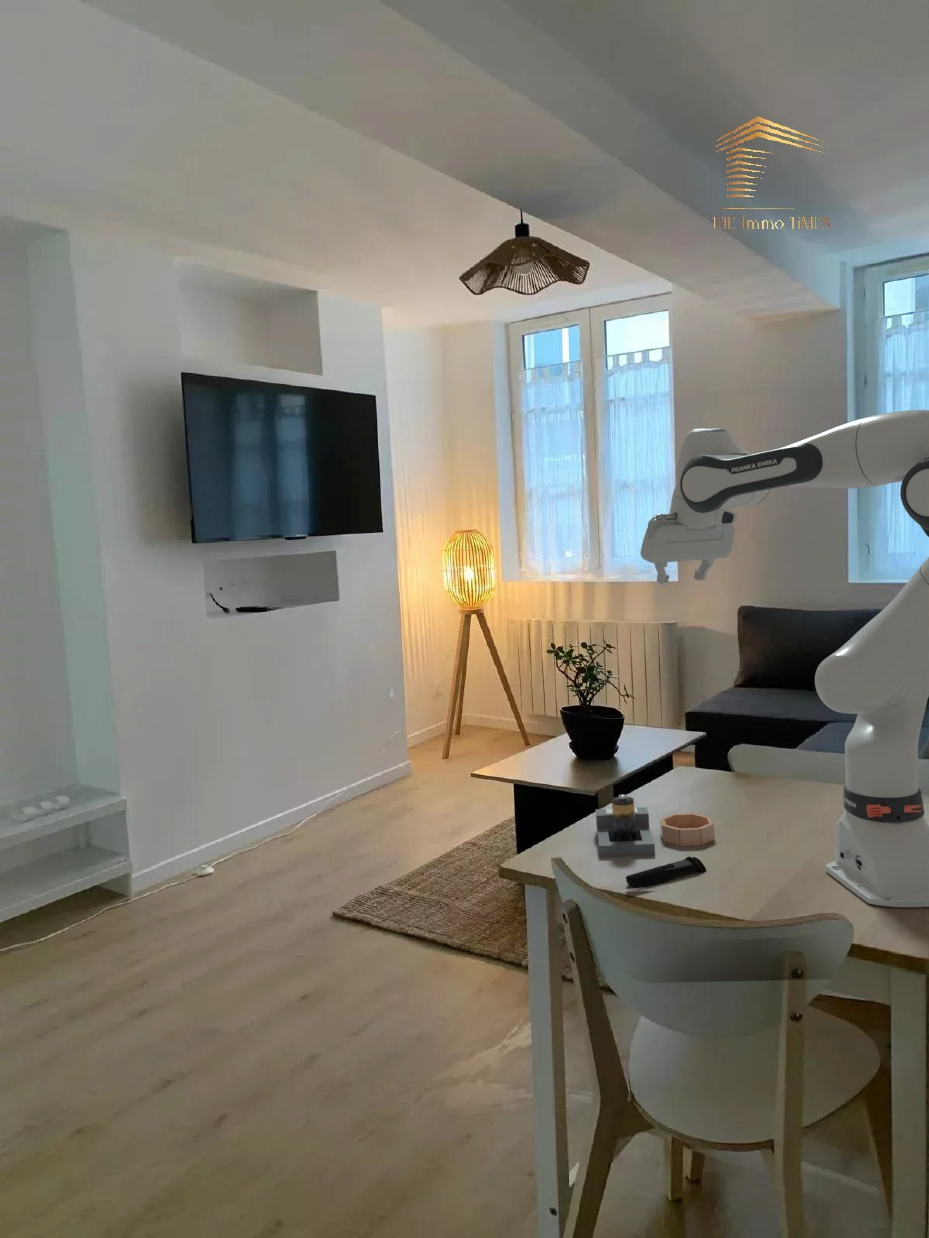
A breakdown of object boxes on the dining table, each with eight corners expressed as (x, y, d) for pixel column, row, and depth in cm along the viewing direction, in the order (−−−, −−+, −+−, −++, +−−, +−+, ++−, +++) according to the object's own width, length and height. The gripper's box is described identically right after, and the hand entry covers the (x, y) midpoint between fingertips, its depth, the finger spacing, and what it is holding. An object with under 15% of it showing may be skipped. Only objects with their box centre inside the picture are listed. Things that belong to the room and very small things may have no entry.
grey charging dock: (655, 857, 172) (653, 829, 171) (600, 859, 173) (598, 831, 172) (647, 831, 185) (646, 806, 185) (597, 833, 187) (595, 808, 186)
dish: (717, 846, 175) (716, 828, 174) (664, 848, 176) (663, 830, 175) (708, 829, 184) (708, 812, 184) (659, 831, 185) (658, 814, 185)
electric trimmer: (621, 889, 159) (620, 871, 159) (694, 868, 166) (693, 851, 165) (634, 897, 156) (633, 878, 155) (708, 875, 162) (707, 857, 162)
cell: (637, 849, 175) (634, 798, 174) (615, 850, 175) (612, 799, 174) (635, 841, 179) (632, 791, 178) (613, 842, 179) (610, 792, 178)
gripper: (661, 518, 172) (649, 590, 176) (744, 514, 181) (730, 582, 186) (639, 510, 177) (628, 579, 182) (721, 506, 186) (708, 573, 191)
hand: (680, 581), depth 184 cm, fingers open, 8 cm apart
